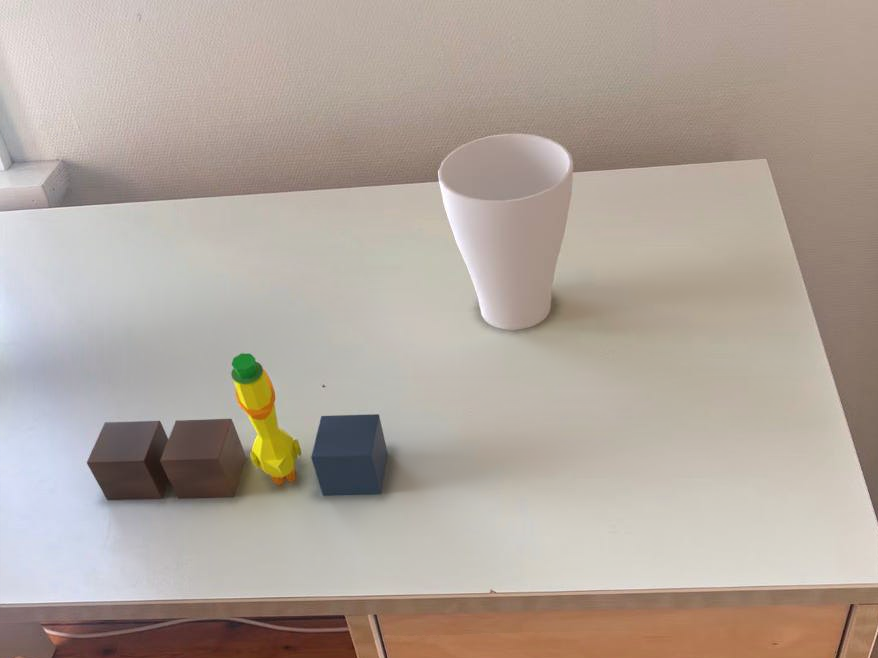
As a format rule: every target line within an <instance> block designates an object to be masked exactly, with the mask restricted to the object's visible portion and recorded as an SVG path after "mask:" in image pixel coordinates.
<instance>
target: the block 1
mask: <svg viewBox="0 0 878 658" xmlns="http://www.w3.org/2000/svg"><path fill="white" fill-rule="evenodd" d="M168 439H169V437H168V435H167V433H166V430H165V428H164V426H163V424H162V422H161V421H160V420H138V421H134V420H133V421H106V422H104V423H103V425H102V427H101V430H100V432H99V434H98V437H97V438H96V441H95V443H94V445H93V448H92V450H91V452H90V454H89V456H88V458H87V461H86V465H87V466H88V468H89V470H90V472H91V473H92V476H93V478H94V479H95V481H96V483H97V484H98V486H99V488H100V490H101V491H102V493H103V495H104V497H105V499H106V500H107V501H134V500H136V501H139V500H163V499H164V496H165V493H166V491H167V488H168V485H169V482H170V481H169V478H168V476H167V474H166V472H165V470H164V468H163V466H162V464H161V462H160V460H161V458H162V455H163V452H164V450H165V447H166V445H167V442H168Z"/></svg>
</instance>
